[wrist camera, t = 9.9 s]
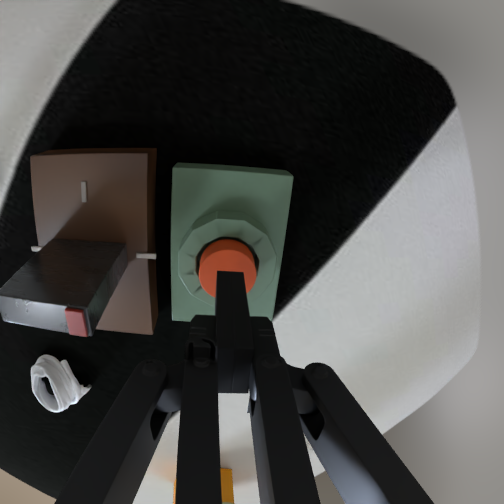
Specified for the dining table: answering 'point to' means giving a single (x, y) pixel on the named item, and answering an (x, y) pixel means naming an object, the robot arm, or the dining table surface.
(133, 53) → the dining table surface
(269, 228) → the button block
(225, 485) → the orange juice
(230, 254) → the button
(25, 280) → the red-tipped grey box
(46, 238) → the panel
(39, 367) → the white folded cloth ring
